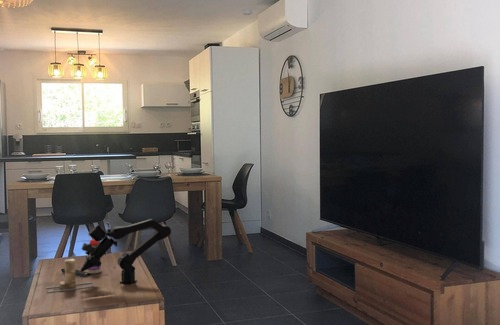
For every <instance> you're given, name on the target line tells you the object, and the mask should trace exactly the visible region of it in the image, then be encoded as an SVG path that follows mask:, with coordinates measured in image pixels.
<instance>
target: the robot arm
mask: <svg viewBox="0 0 500 325" xmlns="http://www.w3.org/2000/svg"><path fill="white" fill-rule="evenodd" d="M150 228H153V229H154V230H155V231H154V232H153V234H152V235H151V236H149V237H148V238H147V239H145V240H144V241H143V242H142V243H141V244H139V245H138V246H137V247H135V248H134V249H133V250H132V251H130V252H127V251H124V253H122V254H120V255H119V257H118V259H117V265H118V266H119V268H121V269H122V270H121V276H120V278H121V281H119V283H120V284H125V285H131V284H133V283H137V282H138V280H137V279H136V267H135V266H134V263H135V261H136V260H137V258H139V257H140V256H141V255H142V254H144V253H145V252H146V251H147V250H148V249H150V248H151V247H153V245H155V244H156V243H157V242H160V241H162V240H164V239H166V238H168V237H170V235H171V233H172V228H171V227H170V226H169V225H166V224H160V223H159V222H157V221H155V220H154V219H152V218H148V219H147V220H143V221H142V220H141V221H139V222H136V223H133V224H132V223H131V224H129V225H116V226H113V227H111V228H110V229H106V230H104V229H103V228H102V227H101V226H100V224H96V225H95V226H94V227H93V228H91V229H90V230H89V232H88V233H87V234H88V236H89V237H91V238H92V239H94V240H95V241H96V242H97V241H98V242H99V244H98V245H95V246H92V245H90V244H89V243H87V242H83V244H82V245H81V246H82V247H81V250H82V251H84V253H85V254H86V255H85V261H84V263H83V265H82V267H81V268H80V272H82V273H83V272H85V271H87V269H89V268H92V267H94V266H97V267H99V266H100V265H101V266H102V261H101V259H102V258H103V256H106V254H107V252H108V251H109V250H110V249H111V248H112V247H113V245H114V246H115V247H118V240H121V239H122V238H124V237H126V236H128V235H129V234H132V233H135V232H138V231H142V230H145V229H146V230H147V229H150Z"/></svg>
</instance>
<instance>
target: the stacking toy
mask: <svg viewBox="0 0 500 325" xmlns="http://www.w3.org/2000/svg"><path fill="white" fill-rule="evenodd" d="M99 243H100V241H97V242H96V241H95V240H94V239H93V238H92V239H91V240H89V243H88V244H90V245H92V246H95V245H98V244H99ZM86 272H87V273H88V274H99V273H101V272H102V264H101V265H100V266H99V267H97V266H94V267H92V268H89V269H87V270H86Z"/></svg>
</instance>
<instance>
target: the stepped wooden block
mask: <svg viewBox="0 0 500 325" xmlns="http://www.w3.org/2000/svg"><path fill="white" fill-rule="evenodd" d="M64 278H65V279H64V280H65V281H64V280H63V281H59V286H60V287H59V288H60V289H59V290H64V289H72V288H77V287H76V286H77V285H76V284H77V283H76V282H77V280H76V260H75V258H68V259H67V258H66V259H64Z"/></svg>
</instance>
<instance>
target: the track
mask: <svg viewBox="0 0 500 325" xmlns="http://www.w3.org/2000/svg"><path fill="white" fill-rule="evenodd" d="M90 284H93V283H92V281H89V282H83V283H76V286H80V287H76V288H72V289H64V290H61V289H59V290H58V289H57V288H60V285H58V286H48V287H45V289H46V290H50V289H57V290H50V291H46V294H51V293H57V292H65V291H67V292H68V291H74V290H81V289H82V290H83V289H89V288H94V285H90ZM83 285H88V286H83Z"/></svg>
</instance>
